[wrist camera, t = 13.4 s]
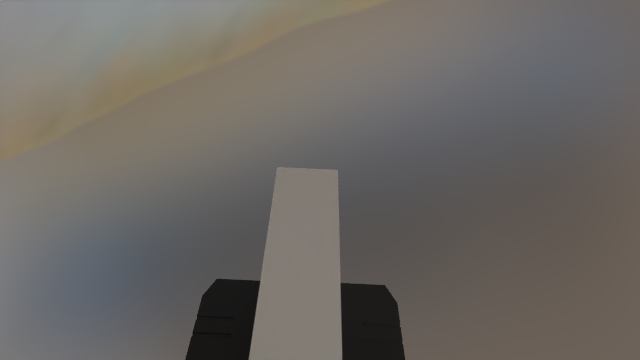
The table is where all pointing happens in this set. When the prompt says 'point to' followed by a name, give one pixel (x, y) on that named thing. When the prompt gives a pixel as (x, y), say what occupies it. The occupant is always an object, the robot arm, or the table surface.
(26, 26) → the table surface
